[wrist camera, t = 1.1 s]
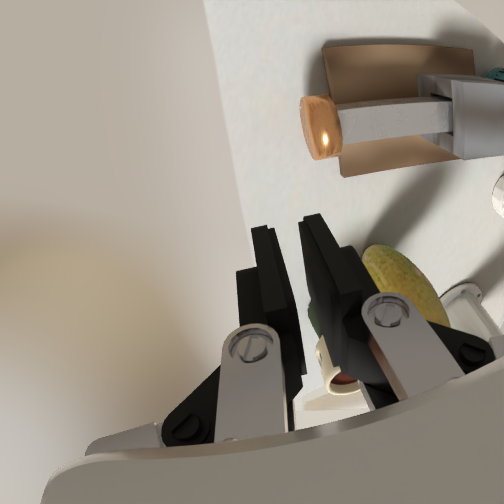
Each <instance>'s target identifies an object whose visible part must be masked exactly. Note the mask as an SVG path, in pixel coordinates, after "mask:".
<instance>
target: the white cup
mask: <svg viewBox="0 0 504 504" xmlns="http://www.w3.org/2000/svg"><path fill="white" fill-rule="evenodd" d="M492 205H493V207H494V209H495V211H496V212H497V213H499V214H500V215H501V216H502V217H503V218H504V175H503V176H502V177H501V178H500V179H499V180H498V182H497V183H496V185H495V187H494V191H493V194H492Z"/></svg>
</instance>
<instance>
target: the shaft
mask: <svg viewBox="0 0 504 504" xmlns="http://www.w3.org/2000/svg"><path fill="white" fill-rule="evenodd" d="M300 117H301V123H302V128H303V133H304V137H305V140H306V144H307V147H308V149H309V152H310V154H311V156H312V158H313V159H314V160H321V159H326V158H332V157H337V156H340V154H341V152H342V146H343V145H346V144H352V143H358V142H365V141H372V140H379V139H386V138H394V137H402V136H411V135H420V134H430V133H440V132H452V131H453V101H452V98H448V97H445V96H438V97H412V98H396V99H383V100H372V101H362V102H353V103H345V104H337V105H334V103H333V101H332V99H331V98H330V97H329V96H328V95H327V94H321V95H314V96H308V97H302V98H301V100H300Z"/></svg>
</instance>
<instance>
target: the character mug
mask: <svg viewBox="0 0 504 504" xmlns="http://www.w3.org/2000/svg"><path fill="white" fill-rule="evenodd" d="M308 317H309V319H310V321H311V324H312V326H313V328H314V330H315V332H316V333H317V335H318V337H319V341H318V343H317V345H316V356H317V358H318V361H319V363H320V366H321V374H322V376H323V379H324V383H325V386H326V389H327V391H328V392H329V393H331V394H335V395H347V394H351V393H356V392H358V391H361V390H360V387H359V384H358V380H357V379H355V378H352V377H350V376H348V375H347V374H345V375H342V373H341V370H340V367H339V366H338V367H333V365H332V362H331V359H330V356H329V352H328V349H327V346H326V343H325V340H324V337H323V334H322V331H321V328H320V324H319V321H318V318H317V315H316V312H315V309H314V306H313V303H312V302H311V304H310V306H309V308H308Z"/></svg>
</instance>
